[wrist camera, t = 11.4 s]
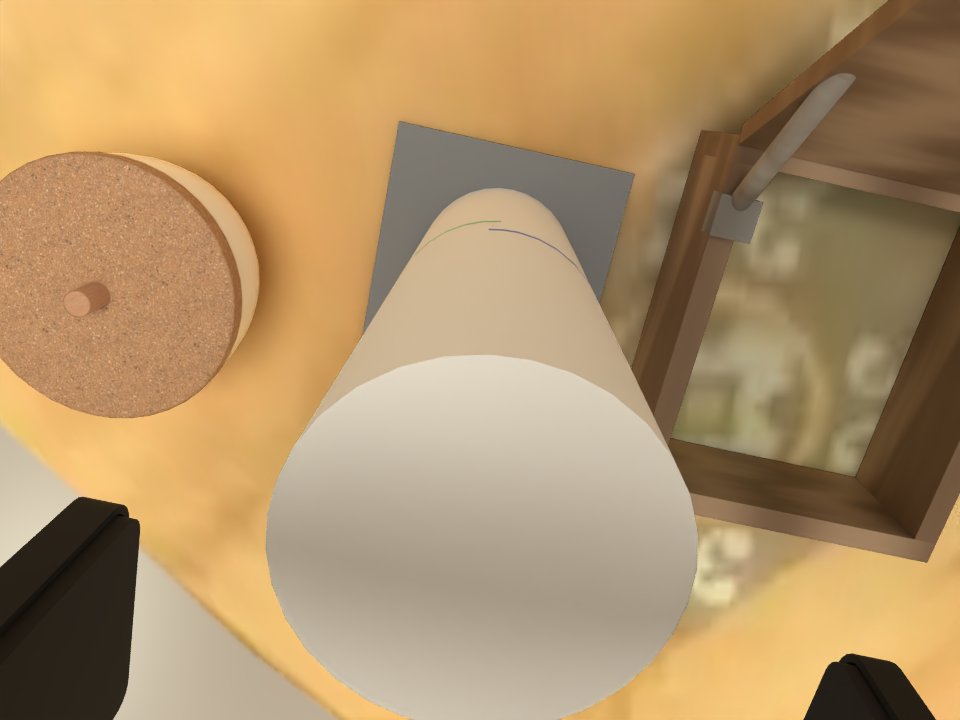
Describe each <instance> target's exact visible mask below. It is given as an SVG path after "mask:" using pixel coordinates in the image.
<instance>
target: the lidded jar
mask: <svg viewBox="0 0 960 720" xmlns="http://www.w3.org/2000/svg"><path fill="white" fill-rule="evenodd" d="M259 283H260V275H259V264H258V259H257V255H256V251H255V246H254V244H253V241H252V239H251V236H250V234H249V231H248V229H247V227H246V225H245V224H244V222H243V220H242V219H241V217H240V215H239V214H238V212H237V211H236V210H235V209H234V207H233V206H232V205H231V204H230V202H229V201H228V200H227V199H226V198H225V197H224V196H223V195H222V194H221V193H220V192H219V191H218V190H217V189H216V188H215V187H214V186H212V185H211V184H209V183H208V182H207V181H205V180H204V179H202V178H201V177H199V176H198V175H196V174H194V173H192V172H190V171H188V170H186V169H184V168H182V167H180V166H178V165H175V164H173V163H170V162H167V161H164V160H161V159H158V158H154V157H148V156H142V155H136V154H129V153H103V152H69V153H63V154H57V155H51V156H46V157H43V158H40V159H38V160H35V161H32V162H29V163H27V164H25V165H23V166H21V167H20V168H18V169H16V170H15V171H13V172H11V173H9V174H8V175H7V176H6V177H5V178H4V179H3V180H1V181H0V358H1V359H2V360H3V361H4V362H5V363H6V364H7V365H8V367H9V368H10V369H11V370H12V371H13V372H14V373H15V374H16V375H17V376H18V377H20V378H21V379H22V380H23V381H25V382H26V383H27V384H28V385H30V386H31V387H32V388H34V389H35V390H37V391H38V392H40V393H42V394H43V395H45V396H46V397H48V398H49V399H51V400H53V401H56V402H58V403H60V404H62V405H64V406H67V407H69V408H71V409H74V410H78V411H81V412H84V413H87V414H91V415H97V416H103V417H109V418H135V417H143V416H150V415H153V414H157V413H160V412H163V411H167V410H169V409H171V408H173V407H175V406H177V405H179V404H181V403H184V402H185V401H187V400H188V399H190V398H191V397H192V396H194V395H195V394H196V393H198V392H199V391H200V390H202V389H203V388H204V387H205V386H206V385H207V384H208V383H209V382H210V380H211V379H212V378H213V377H214V376H215V375H216V374H217V373H218V372H219V371H220V369H221V368H222V366H223V364H224V363H225V362H226V361H227V360H228V359H229V358H230V357H231V355H232V354H233V353H234V351H235V350H236V348H237V347H238V345H239V344H240V342H241V341H242V339H243V338H244V336H245V334H246V332H247V330H248V328H249V326H250V323H251V321H252V319H253V316H254V312H255V308H256V304H257V300H258V296H259Z"/></svg>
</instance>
